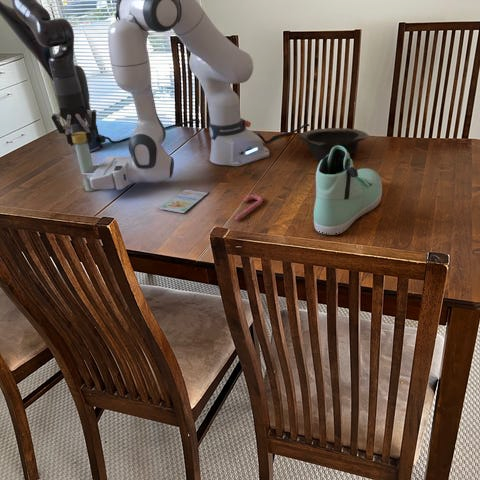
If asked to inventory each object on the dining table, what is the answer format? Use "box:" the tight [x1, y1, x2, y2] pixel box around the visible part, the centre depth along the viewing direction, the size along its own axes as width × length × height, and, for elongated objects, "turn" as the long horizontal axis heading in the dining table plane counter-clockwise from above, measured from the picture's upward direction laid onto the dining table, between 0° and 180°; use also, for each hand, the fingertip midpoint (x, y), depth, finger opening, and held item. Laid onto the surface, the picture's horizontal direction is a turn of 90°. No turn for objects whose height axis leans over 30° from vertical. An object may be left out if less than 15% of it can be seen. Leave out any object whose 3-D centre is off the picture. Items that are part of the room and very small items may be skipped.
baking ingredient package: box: [158, 188, 208, 214], centre depth 150 cm, size 9×1×15 cm
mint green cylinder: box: [73, 141, 98, 192], centre depth 159 cm, size 4×4×18 cm
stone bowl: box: [298, 127, 370, 162], centre depth 173 cm, size 25×25×9 cm
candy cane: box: [234, 194, 264, 222], centre depth 143 cm, size 6×15×2 cm, turn 145°
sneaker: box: [313, 146, 383, 236], centre depth 133 cm, size 14×35×20 cm, turn 152°
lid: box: [71, 132, 88, 143], centre depth 154 cm, size 5×5×2 cm
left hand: (81, 143), depth 155 cm, fingers closed on lid, 5 cm apart
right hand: (85, 172), depth 161 cm, fingers closed on mint green cylinder, 4 cm apart
